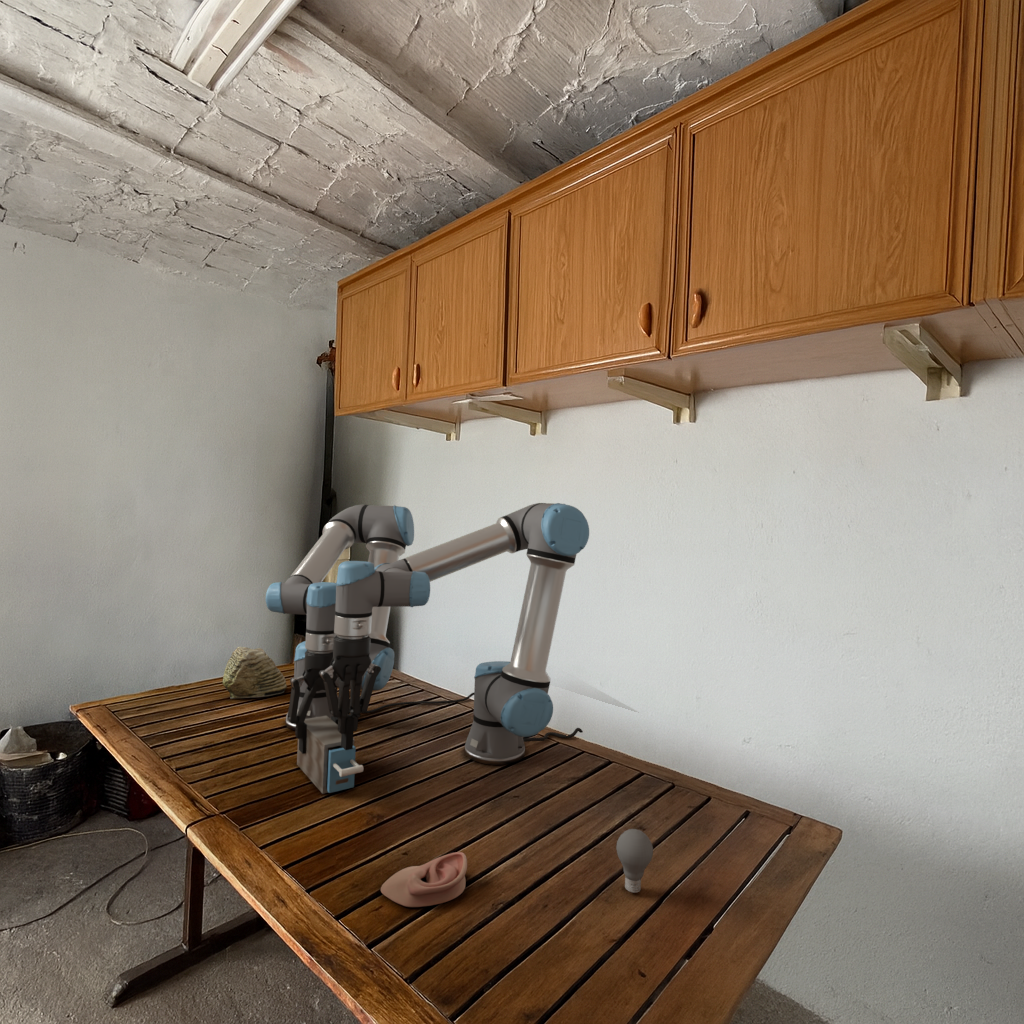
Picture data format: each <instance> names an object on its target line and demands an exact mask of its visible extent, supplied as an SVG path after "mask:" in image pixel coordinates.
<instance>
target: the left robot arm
mask: <svg viewBox="0 0 1024 1024" xmlns="http://www.w3.org/2000/svg"><path fill="white" fill-rule="evenodd" d="M414 540H415V523H414V517H413V514H412V512H411V510H410V509H409V508H408V507H406V506H400V505H399V506H397V505H395V504H394V505H381V504H380V505H379V504H377V505H376V504H355V505H352V506H349V507H346V508H345V509H343V510H341V511H340V512H338V513H337V514H335V515H334V516H332V518H330V519H329V521H327V523H326V524H325V525H324V526H323V528H322V534H321V536H320V537H319V538H318V539H317V541H316V542H315V544H314V545H313V546H312V547H311V549H310V550H309V551H308V553H307V554H306V555H305V556H304V558H303V559H302V560H301V561H300V563H299V564H298V566H297V567H296V568H295V569H294V570H293V572H292V573H291V574H290V576H289V577H288V578H287V579H286V581H284V582H283V581H280V582H273V583H271V584H270V585H269V586H268V587H267V590H266V592H265V604H266V607H267V609H268V610H269V612H271V613H278V614H279V613H280V614H286V615H287V614H288V615H306V628H305V640H304V641H302V642H299V643H298V644H297V645H296V647H295V652H294V653H295V654H294V659H293V661H294V672H293V677H291V678H290V679H289V682H290V687H291V689H290V696H289V704H288V709H287V713H286V715H285V726H286V728H287V729H289V730H291V731H294V733H295V734H294V735H295V738H296V739H297V740H298V739H299V750H300V752H301V753H302V754H304V753H306V735H307V724H306V723H305V722H304V721H305V719H309V718H314V717H320V716H326V715H327V716H328V717H329V718H330V719H331V720H333V721H334V722H335V723H336V724H337V725H338V717H334V716H333V715H332V714H331V713H330V712H329V707H328V702H327V696H326V691H325V686H324V681H323V679H322V678H321V676H320V675H319V672H320V671H321V670H325V669H327V668H328V667H329V666H330V663H331V661H332V659H333V644H334V637H335V636H336V634H335V633H334V624H335V608H336V582H331V581H324V580H325V578H326V577H327V576H328V575H329V572H330V571H331V570H332V569H333V567H334V565H335V564H336V563H337V561H338V560H339V559H340V557H341V556H342V554H343V553H344V551H345V550H348V549H350V548H351V547H352V546H353V545H354V544H365V549H367V550H368V551H369V555H368V560H367V562H372V563H373V564H374V568H375V567H376V566H378V565H380V564H383V563H393V562H395V561H398V560H400V559H399V558H400V557H401V556H403V554H405V553H406V548H407V547H410V546H412V545H413V544H414V543H413V542H414ZM390 613H391V607H373V608H372V622H371V633H370V634H369V635H368V636H370V638H371V642H370V654H369V656H370V659H371V663H373V664H376V665H377V666H379V667H380V668H381V671H380V672H379V674H378V676H377V677H376V680H375V684H374V687H373V691H375V692H377V691H380V690H382V689H384V688H385V686H386V685H387V684H388V683H389V681H390V678H391V677H392V676H391V675H392V673H393V671H394V666H395V651H394V649H392V648H391V647H390V645H391V641H390V640H389V639H388V638H387V629H388V624H389V617H390ZM366 675H367V670H366V672H365V673H364V675H363V676H362V684H361V690H360V691H362V689H363V685H364V681H365V678H366ZM332 680H333V683H334V688H335V693H336V699H337V704H338V697H339V694H338V689H339V681H338V680H339V678H338V676H337V675H336V674H335V672H334V671H333V678H332ZM349 690H351V681H350V686H349ZM471 697H474V692H471V693H470V694H468V696H466V697H464V698H459V699H452V700H451V699H450V700H432V701H428V700H417V701H416V700H415V701H402V702H401V701H400V702H394V703H389V704H388V703H387V704H385V705H382V706H380V707H377V708H373V709H371V710H367V712H365V713H364V712H363V713H361V714H360V715H362V714H363V715H364V714H365V715H366V714H373V713H375V712H378V711H381V710H383V709H386V708H390V707H395V706H405V705H429V704H430V705H440V704H453V703H455V704H456V703H462V702H465V701H468V700H469V699H470V698H471ZM349 710H350V692H349V697H348V714H350V711H349Z"/></svg>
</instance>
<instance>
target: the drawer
mask: <svg viewBox="0 0 1024 1024" xmlns="http://www.w3.org/2000/svg"><path fill="white" fill-rule="evenodd" d="M356 749H357V748H356V746H355V745H354V746H353V749H350V750H345V749H344V748H343V747H342V746H336V747H331V748H328V761H327V791H328V794H332V793H336V792H340V791H344V790H347V789H352V788H354V787H355V775H356V774H360V773H363V772H364V765H363V764H359V763H357V761H356V752H357V751H356Z"/></svg>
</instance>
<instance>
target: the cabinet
mask: <svg viewBox="0 0 1024 1024" xmlns="http://www.w3.org/2000/svg"><path fill="white" fill-rule="evenodd" d="M304 722H305V723H306V724H307V735H306V753H304V754H302V753H301V752H300V750H299V739H298V738H297V753H296V765H297V766H298V767H299V769H300V770H301V771H302V772H303V773H304V774H305V776H306V777H307V778H308V779H309V780H310V782H311V783H312V784H313V785H314V786H315V787H316V788H317V789H318V790H319V791H320V793H321V794H322V795H324V794H327V793H328V794H329V792H328V791H327V761H328V748H331V747H336V746H341V733H339V732H338V725H337V724H336V723H335V722H334V721H333V720H331V719H330V718H329V717H328V716H327V715H326V716H320V717H314V718H309V719H305V721H304ZM353 746H355V738H354V737H353Z"/></svg>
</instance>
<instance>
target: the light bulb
mask: <svg viewBox="0 0 1024 1024" xmlns="http://www.w3.org/2000/svg"><path fill="white" fill-rule="evenodd" d="M615 849H616V854H617V857H618V859H619V861H620V863H621V865H622V867H623V873H624V874H623V875H624V876H625V878H624V888H625V890H627V891H628V892H630V893H634V894H635V893H639V892H640V891H641V889H642V887H641V886H642V879H643V877H644V875H645V871H646V868H647V867H648V866H649V864H650V863H651V861H652V859H653V855H654V847H653V843H652V841H651V838H649V836H648V835H647V834H646V833H645V832H643V831H642V830H641V829H636V828H629V829H627V830H625V831H623V832H622V833H621V834H620V835H619V837H618V839H617V841H616V847H615Z"/></svg>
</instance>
